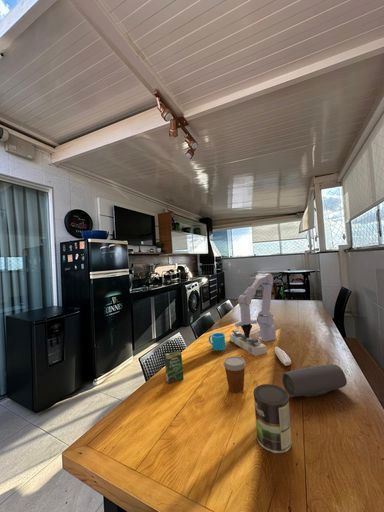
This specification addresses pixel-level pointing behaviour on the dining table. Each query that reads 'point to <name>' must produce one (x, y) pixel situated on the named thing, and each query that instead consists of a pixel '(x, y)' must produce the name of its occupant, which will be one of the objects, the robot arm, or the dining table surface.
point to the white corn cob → (282, 356)
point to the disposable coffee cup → (235, 373)
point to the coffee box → (173, 366)
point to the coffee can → (272, 418)
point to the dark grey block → (236, 332)
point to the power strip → (249, 345)
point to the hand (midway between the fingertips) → (247, 336)
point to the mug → (218, 341)
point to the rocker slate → (253, 340)
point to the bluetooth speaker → (314, 380)
